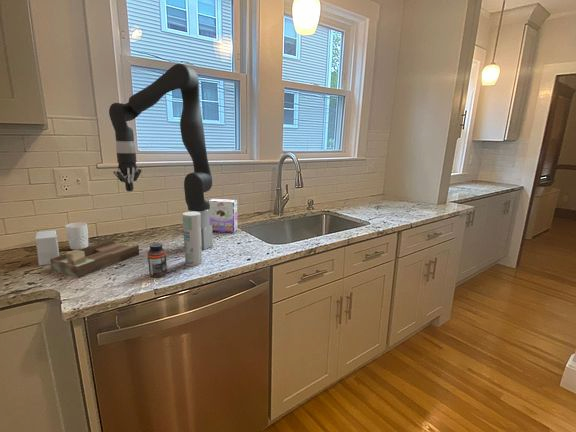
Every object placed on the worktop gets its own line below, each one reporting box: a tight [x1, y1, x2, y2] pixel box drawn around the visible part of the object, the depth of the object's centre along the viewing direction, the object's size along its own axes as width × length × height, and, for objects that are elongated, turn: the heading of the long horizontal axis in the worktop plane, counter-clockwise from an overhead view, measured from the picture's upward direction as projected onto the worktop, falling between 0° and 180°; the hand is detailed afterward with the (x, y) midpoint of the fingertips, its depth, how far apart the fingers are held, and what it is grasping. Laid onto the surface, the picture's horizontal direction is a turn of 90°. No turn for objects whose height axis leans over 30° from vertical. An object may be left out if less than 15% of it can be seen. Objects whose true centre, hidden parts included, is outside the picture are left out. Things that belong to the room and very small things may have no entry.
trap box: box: [50, 239, 140, 279], centre depth 122 cm, size 15×25×4 cm, turn 155°
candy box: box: [207, 198, 238, 234], centre depth 164 cm, size 14×6×16 cm, turn 80°
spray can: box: [182, 211, 203, 267], centre depth 121 cm, size 6×6×20 cm
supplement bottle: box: [147, 242, 168, 278], centre depth 112 cm, size 6×6×11 cm
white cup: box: [64, 221, 90, 251], centre depth 135 cm, size 8×8×10 cm
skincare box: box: [34, 229, 60, 266], centre depth 121 cm, size 10×6×10 cm, turn 35°
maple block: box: [65, 249, 86, 266], centre depth 114 cm, size 4×4×4 cm
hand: (129, 191), depth 142 cm, fingers closed
